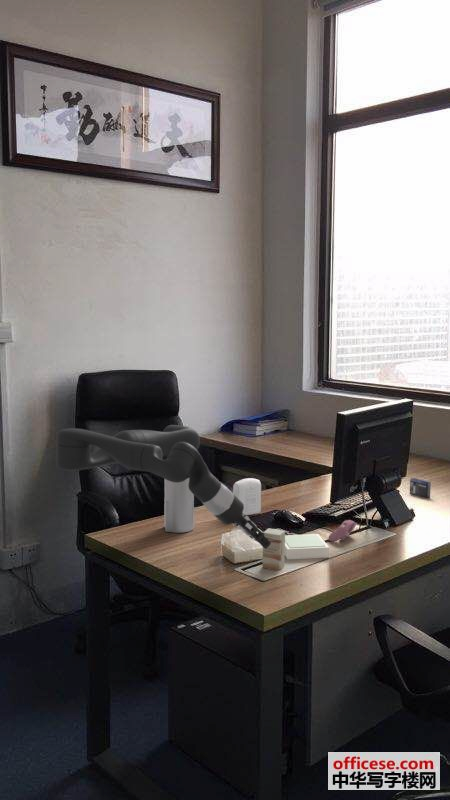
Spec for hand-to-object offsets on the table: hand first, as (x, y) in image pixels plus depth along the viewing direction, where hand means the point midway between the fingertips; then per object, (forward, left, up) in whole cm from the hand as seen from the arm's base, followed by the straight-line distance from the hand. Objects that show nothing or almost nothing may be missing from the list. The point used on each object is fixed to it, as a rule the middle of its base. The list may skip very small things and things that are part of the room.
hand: (261, 540), depth 194 cm
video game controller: (+30, +23, -9) cm, 38 cm away
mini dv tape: (+73, +67, -9) cm, 99 cm away
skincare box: (+4, +2, -8) cm, 9 cm away
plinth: (+15, +13, -8) cm, 21 cm away
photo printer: (+5, +52, -8) cm, 53 cm away
